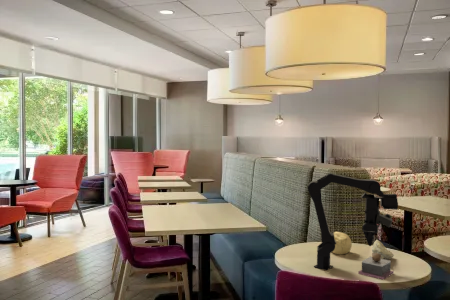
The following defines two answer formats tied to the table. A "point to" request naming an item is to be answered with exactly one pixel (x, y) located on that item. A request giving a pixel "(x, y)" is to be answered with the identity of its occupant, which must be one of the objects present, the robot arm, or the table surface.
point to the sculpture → (342, 243)
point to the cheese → (381, 250)
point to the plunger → (376, 257)
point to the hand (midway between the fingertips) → (371, 243)
